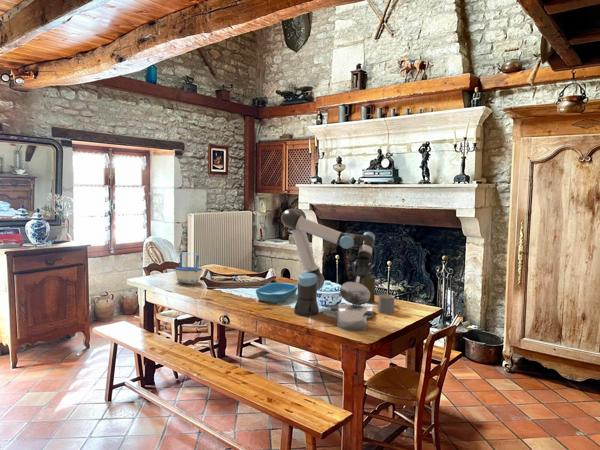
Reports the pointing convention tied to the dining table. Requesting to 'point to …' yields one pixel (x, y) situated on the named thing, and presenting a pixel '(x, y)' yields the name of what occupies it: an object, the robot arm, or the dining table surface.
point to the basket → (188, 272)
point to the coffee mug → (386, 304)
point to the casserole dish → (276, 292)
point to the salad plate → (360, 305)
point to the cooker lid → (355, 293)
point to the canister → (370, 286)
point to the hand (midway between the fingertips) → (356, 287)
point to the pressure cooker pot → (352, 317)
